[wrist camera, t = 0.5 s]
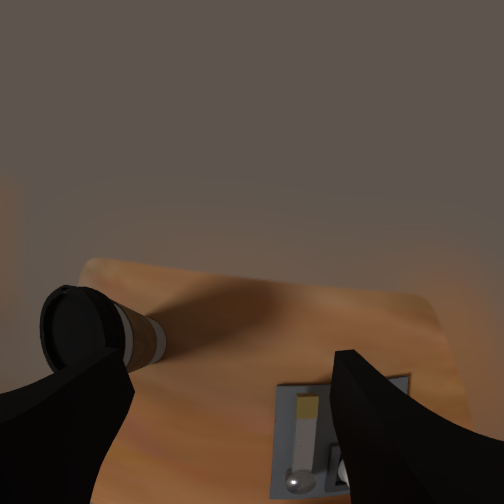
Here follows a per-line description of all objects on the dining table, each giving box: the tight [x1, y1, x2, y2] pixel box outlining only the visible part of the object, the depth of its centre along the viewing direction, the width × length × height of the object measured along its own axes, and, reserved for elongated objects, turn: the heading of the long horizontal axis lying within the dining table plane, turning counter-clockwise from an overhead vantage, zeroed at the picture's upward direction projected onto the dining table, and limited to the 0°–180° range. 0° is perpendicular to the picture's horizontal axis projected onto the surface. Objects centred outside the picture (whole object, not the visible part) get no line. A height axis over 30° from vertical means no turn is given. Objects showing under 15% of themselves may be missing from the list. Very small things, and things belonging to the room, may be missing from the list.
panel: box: [270, 376, 408, 499], centre depth 24 cm, size 16×16×2 cm
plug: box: [337, 458, 350, 488], centre depth 21 cm, size 5×5×5 cm
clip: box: [285, 393, 319, 495], centre depth 23 cm, size 12×3×2 cm, turn 178°
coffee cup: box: [40, 285, 166, 373], centre depth 23 cm, size 8×8×15 cm
